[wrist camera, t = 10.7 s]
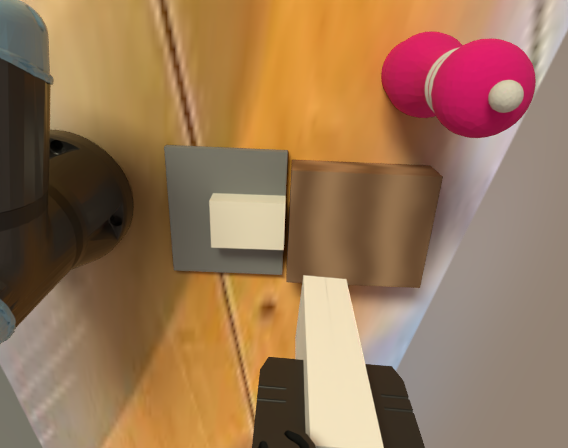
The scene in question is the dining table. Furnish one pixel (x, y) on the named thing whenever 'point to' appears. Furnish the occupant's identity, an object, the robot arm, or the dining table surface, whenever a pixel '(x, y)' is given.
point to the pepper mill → (460, 82)
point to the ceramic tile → (247, 221)
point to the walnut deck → (361, 221)
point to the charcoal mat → (196, 212)
